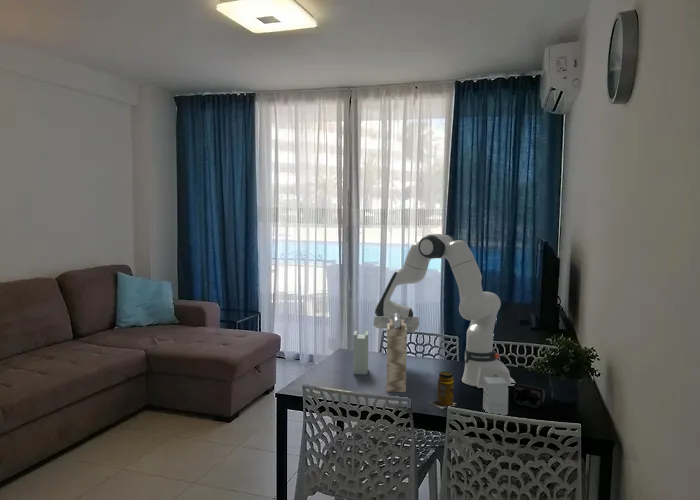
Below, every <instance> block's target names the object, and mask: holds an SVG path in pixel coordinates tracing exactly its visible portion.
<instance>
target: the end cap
mask: <svg viewBox="0 0 700 500" xmlns="http://www.w3.org/2000/svg"><path fill="white" fill-rule="evenodd" d="M545 392H546V391H545V389H544V388H540V387H535V386H530V385H525V384H520V383H517V384H516V387H515V389H514V391H513V393H514V394H515V395H514V396H513V401H514V402H515V401H517V402H520V403H522V402H523V401H528V402H530V403H529V405H534V406H537V405H538V404H540V403H543V402H545V399H546V393H545ZM543 404H544V403H543Z"/></svg>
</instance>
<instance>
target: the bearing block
mask: <svg viewBox="0 0 700 500" xmlns="http://www.w3.org/2000/svg"><path fill="white" fill-rule="evenodd" d="M386 330H387V333H386V388H385V390H386V392H389V393H390V392H392V393H406V392H407V352H408V350H407V345H408V344H407V343H408V340H407V339H408V334H407V327H406V323H404V320H401V327H400V328H399V329H395V328H394V327H393V322H392V319H390V323H387V329H386Z"/></svg>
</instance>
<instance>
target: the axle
mask: <svg viewBox="0 0 700 500" xmlns="http://www.w3.org/2000/svg"><path fill="white" fill-rule="evenodd" d="M393 327H394V328H395V329H399V328H400V327H401V323H400V315H399V314H398V313H394V314H393Z"/></svg>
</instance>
